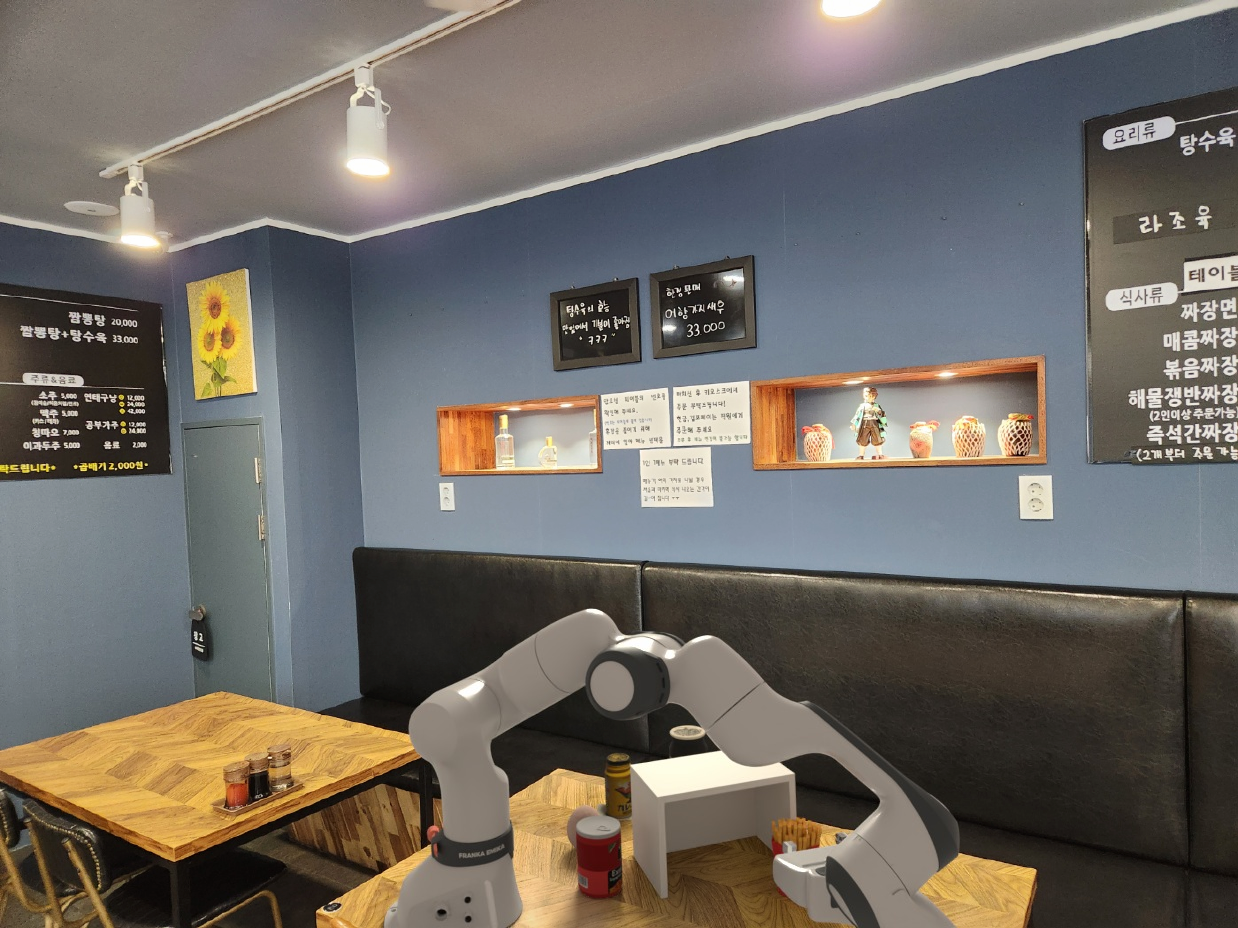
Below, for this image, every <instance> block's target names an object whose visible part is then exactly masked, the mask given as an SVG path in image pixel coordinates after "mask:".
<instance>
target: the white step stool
mask: <svg viewBox="0 0 1238 928" xmlns="http://www.w3.org/2000/svg"><path fill="white" fill-rule="evenodd" d="M630 774H631V801H632V820H631V825H632V850H633V851H632V852H633V855H632V856H633V858H634V859H635V861H636V863H638V865H639V867H640V868H641V870H642V871H643V873H644V874H645V876H646V878H647V880H649V881H650V884H651V886H652V887H653V888H654V890H655V891H656V893H657V894H658V896H659V897H660V899H665V898H668V897H669V895H668V894H669V893H668V892H669V891H668V890H669V889H668V869H667V868H668V864H667V854H668V853H673V852H679V851H685V850H689V849H694V848H699V847H704V846H710V845H715V844H720V843H724V842H730V841H734V840H735V841H736V840H740V839H747V838H751V837H755V836H756V837H757V838H758V839H759V840H760V841H761V842H762V843H764V845H766V847H768V849H769V850H771V851H772V852H773V849H772V842H771V840H772V835H773V830H772V821H775V825H776V827H778V819H782V818H784V819H785V821H787V818H788V819H790V820H792V819H793V820H795V821H796V817H797V798H796V797H797V796H796V773H795V772H794V771H792V770H790V769H789V768H787V766H785V765H783V763H782V762H779V763H775V764H772V765H768V766H762V767H749V766H743V765H740V764H737V763H735V762H733V761H731V760H730V759H729V758H728V757H727V756H726V755H725V754H724V753H723V752H722V751H721V750H717V751H710V752H708V753H704V754H697V755H691V756H685V757H678V758H672V759H670V758H667V759H660V760H653V761H649V762H642V763H635V764H631V765H630ZM778 832H779V830H778Z"/></svg>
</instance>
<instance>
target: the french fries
mask: <svg viewBox="0 0 1238 928" xmlns="http://www.w3.org/2000/svg"><path fill="white" fill-rule="evenodd" d="M772 830H773V835H772V840H771V842H772V849H773V851H772V854H773V859H774V858H775V856H776V855H779V854H784V853H783V842H787V841H793V843H795V844H796V845H797V849H796V852H797V851H802V850H808V849H814V848H820V847H821V846H820V845H821V844H820V842H821V837H822V834H823V830H822V824H819V823H816V822H814V821H812V820H807V821H806V818H804V817H797V816H796V821H795V820H793V819H792V820H790V819H788V818H787V821H785V819H784V818H782V819H778V827H776V825H775V821H772ZM778 830H779V832H778ZM777 892H778V894H780V895H781V896H783V897H786V898H789V897H788V896H787V895H786V894H785V893H784V892H783V891H782V890H781V889H780V888H779V887H778V886H777Z"/></svg>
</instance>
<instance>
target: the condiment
mask: <svg viewBox="0 0 1238 928" xmlns="http://www.w3.org/2000/svg"><path fill="white" fill-rule="evenodd" d="M605 762H606V763H605V770H604V790H605V792H604V793H605V795H604V797H605V803H597V807H596V811H597V812H598V813H599V815H600V816H609V817H612V818H615V819H616V820H618V821H632V801H631V774H630V765H632V764H631V757H630V756H629V755H628V754H627V753H622V752H614V753H610V754H609V755H607V756H606V759H605Z"/></svg>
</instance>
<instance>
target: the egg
mask: <svg viewBox="0 0 1238 928" xmlns="http://www.w3.org/2000/svg"><path fill="white" fill-rule="evenodd" d="M591 816H600V815H599V813H598V812H597V809H596V808H595V807H593V806H591V805H589V804H583V805H582V804H581V805H580V806H578V807H576V808H575V809H574V810H573V811H572V813H571V814H570V816H569V818H568V820H567V824H566V836H567V840H568V841H569V843H570V845H571V846H572V847H574V848H575V849H576V850H577V848H576V825H577V823H578V822H579V821H580V820H582V819H584V818H587V817H591Z"/></svg>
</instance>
